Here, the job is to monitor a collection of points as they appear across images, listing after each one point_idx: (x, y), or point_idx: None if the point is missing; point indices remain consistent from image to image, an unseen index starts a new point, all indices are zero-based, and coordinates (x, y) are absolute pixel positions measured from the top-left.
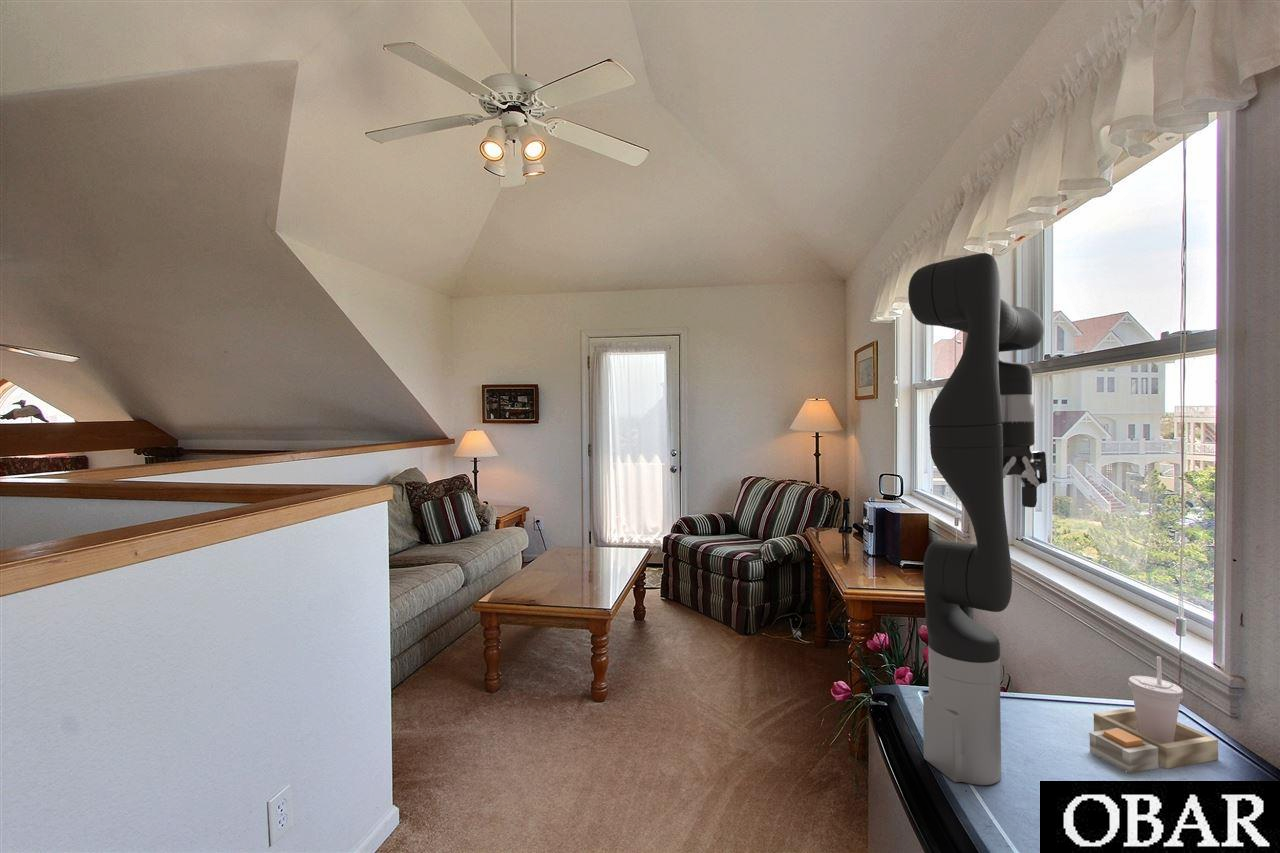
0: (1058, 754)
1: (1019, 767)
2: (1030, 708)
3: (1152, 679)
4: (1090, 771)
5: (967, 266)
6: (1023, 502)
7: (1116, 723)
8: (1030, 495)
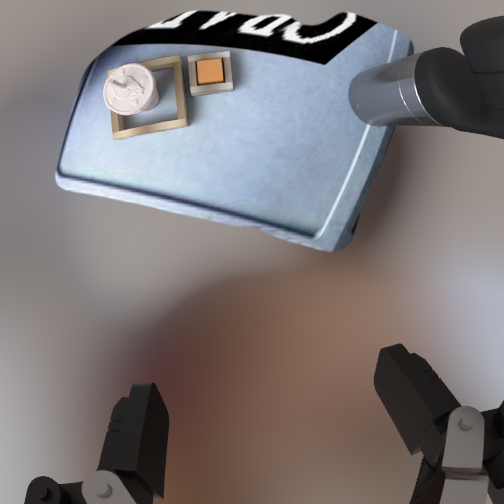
0: (270, 92)
1: (327, 84)
2: (217, 182)
3: (119, 98)
4: (264, 65)
5: None
6: (166, 425)
7: (181, 102)
8: (149, 436)
